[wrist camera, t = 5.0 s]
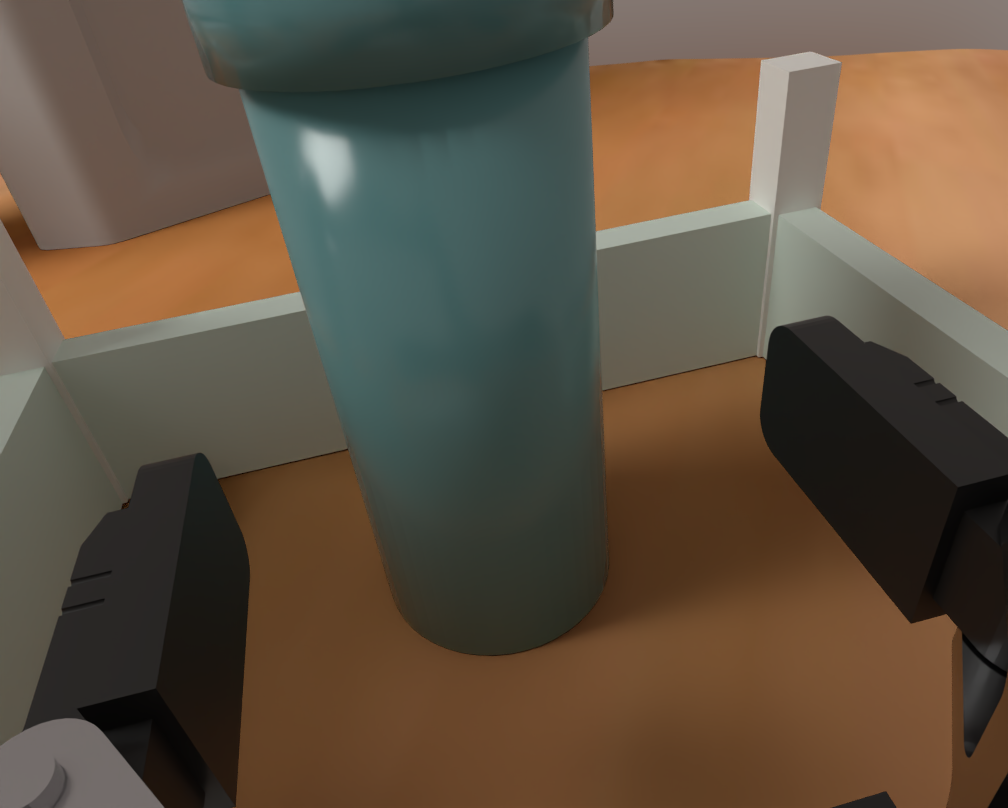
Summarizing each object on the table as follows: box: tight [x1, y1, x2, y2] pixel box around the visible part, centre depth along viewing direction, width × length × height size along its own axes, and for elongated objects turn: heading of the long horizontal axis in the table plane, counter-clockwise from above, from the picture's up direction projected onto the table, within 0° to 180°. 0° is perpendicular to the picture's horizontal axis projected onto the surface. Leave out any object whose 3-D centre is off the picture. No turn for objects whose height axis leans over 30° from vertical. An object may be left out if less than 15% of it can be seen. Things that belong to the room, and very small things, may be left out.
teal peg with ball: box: [181, 0, 613, 655], centre depth 14 cm, size 6×6×18 cm
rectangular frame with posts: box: [0, 52, 1008, 746], centre depth 17 cm, size 14×24×9 cm, turn 103°
